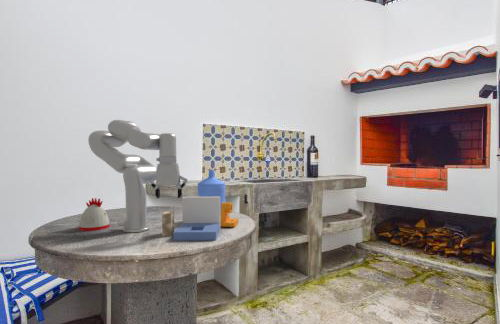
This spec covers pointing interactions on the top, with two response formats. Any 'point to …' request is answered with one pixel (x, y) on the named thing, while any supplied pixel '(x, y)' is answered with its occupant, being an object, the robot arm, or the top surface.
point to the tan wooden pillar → (167, 223)
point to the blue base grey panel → (199, 219)
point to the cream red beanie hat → (94, 217)
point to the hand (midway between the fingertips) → (168, 197)
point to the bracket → (227, 215)
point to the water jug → (212, 188)
